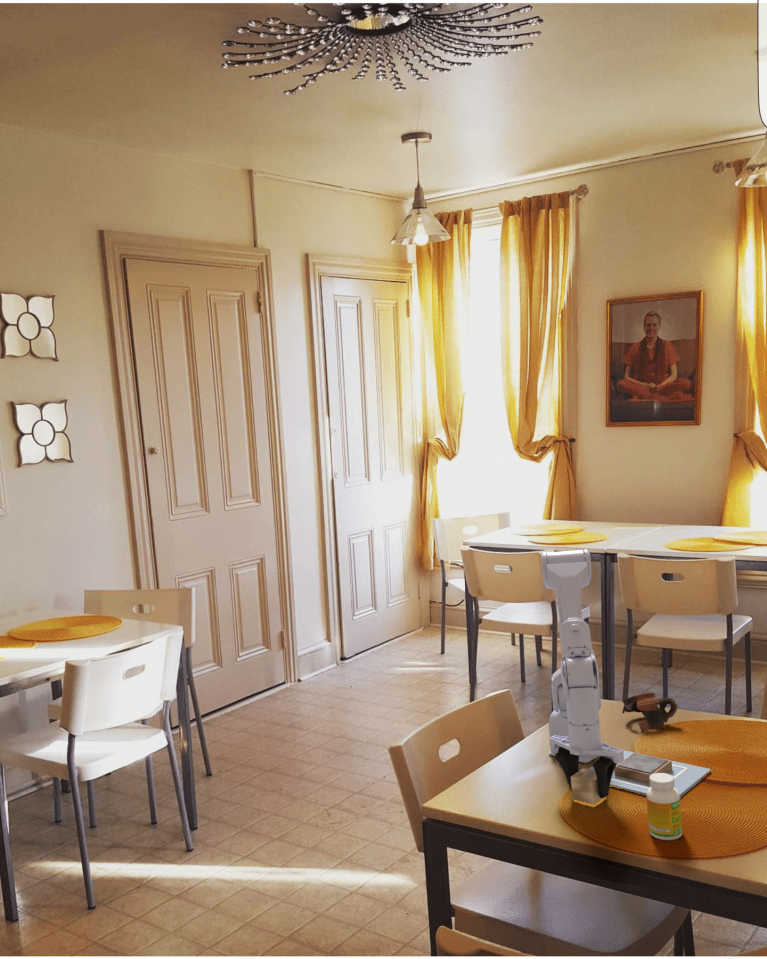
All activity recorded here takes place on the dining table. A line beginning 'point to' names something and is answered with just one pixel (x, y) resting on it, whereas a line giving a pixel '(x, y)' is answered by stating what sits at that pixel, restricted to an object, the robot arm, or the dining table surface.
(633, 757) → the board
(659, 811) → the supplement bottle
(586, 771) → the oak block
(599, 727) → the robot arm
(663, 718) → the pottery mug
